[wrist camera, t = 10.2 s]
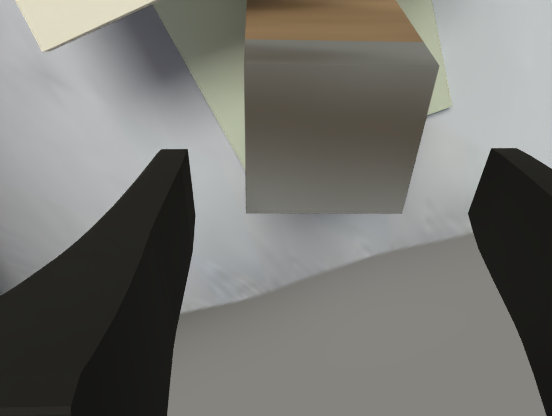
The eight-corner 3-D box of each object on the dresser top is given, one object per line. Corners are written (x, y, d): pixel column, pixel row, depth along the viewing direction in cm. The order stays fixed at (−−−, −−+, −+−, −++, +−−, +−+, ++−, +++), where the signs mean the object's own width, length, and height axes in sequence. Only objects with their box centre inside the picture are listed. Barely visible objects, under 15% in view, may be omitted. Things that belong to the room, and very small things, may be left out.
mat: (449, 101, 20) (452, 106, 20) (249, 172, 22) (249, 177, 22) (399, -148, 15) (402, -146, 14) (140, -24, 17) (138, -20, 17)
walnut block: (362, 98, 20) (401, 213, 14) (248, 96, 19) (246, 213, 14) (381, -22, 17) (439, 65, 11) (247, -25, 17) (243, 63, 11)
